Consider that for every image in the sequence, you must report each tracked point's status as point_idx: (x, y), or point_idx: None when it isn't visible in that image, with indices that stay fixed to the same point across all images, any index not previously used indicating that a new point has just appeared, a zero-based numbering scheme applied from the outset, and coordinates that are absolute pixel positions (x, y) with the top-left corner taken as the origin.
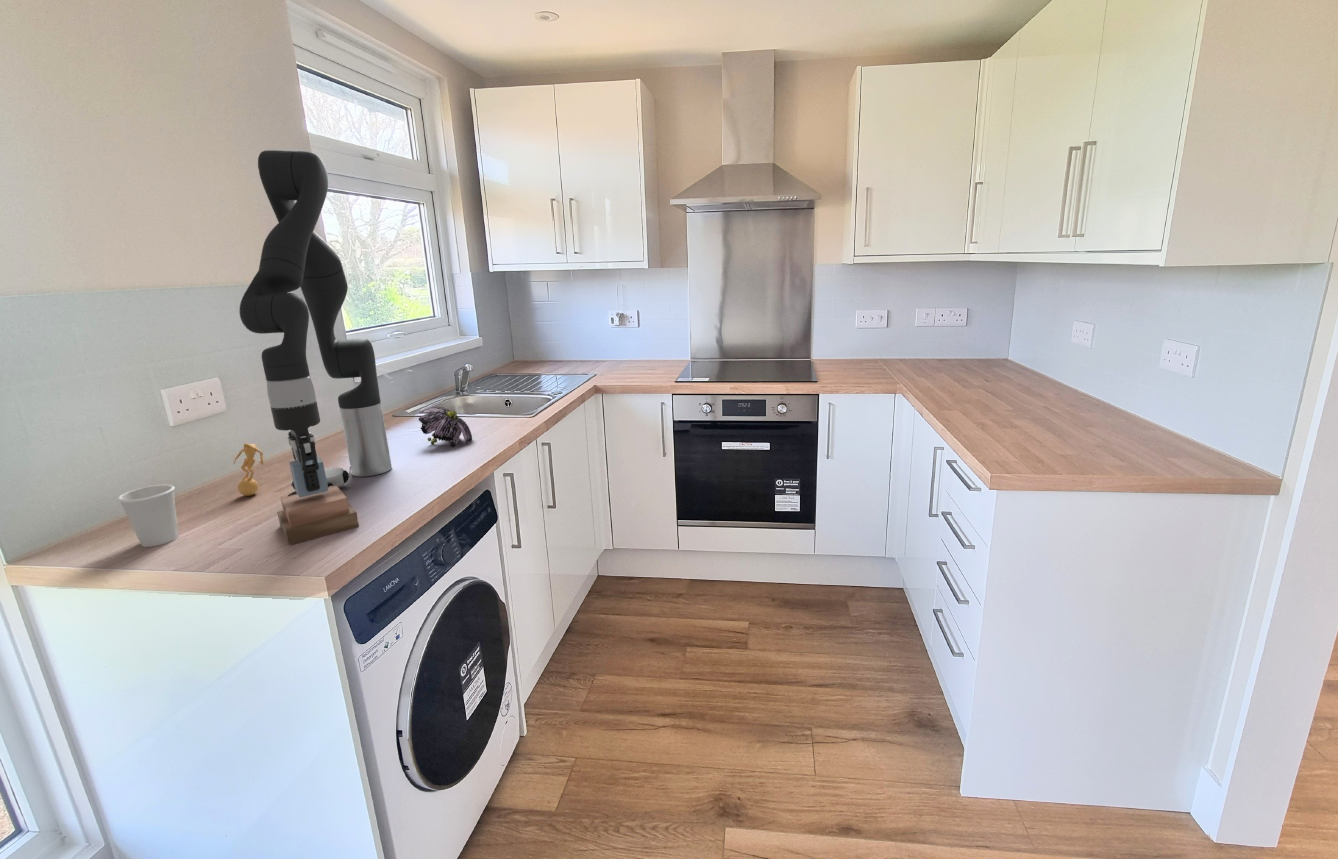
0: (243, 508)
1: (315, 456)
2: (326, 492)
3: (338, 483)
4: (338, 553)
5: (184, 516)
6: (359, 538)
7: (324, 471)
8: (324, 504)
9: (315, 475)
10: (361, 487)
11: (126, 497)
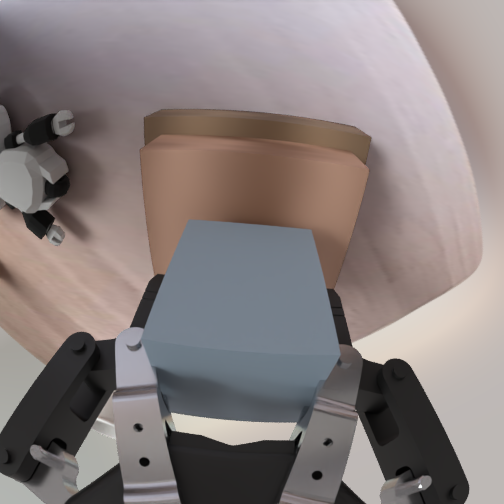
0: (36, 281)
1: (439, 430)
2: (214, 202)
3: (3, 118)
4: (449, 224)
5: (46, 331)
6: (427, 163)
7: (329, 302)
8: (347, 241)
9: (349, 337)
10: (20, 60)
11: (103, 429)
